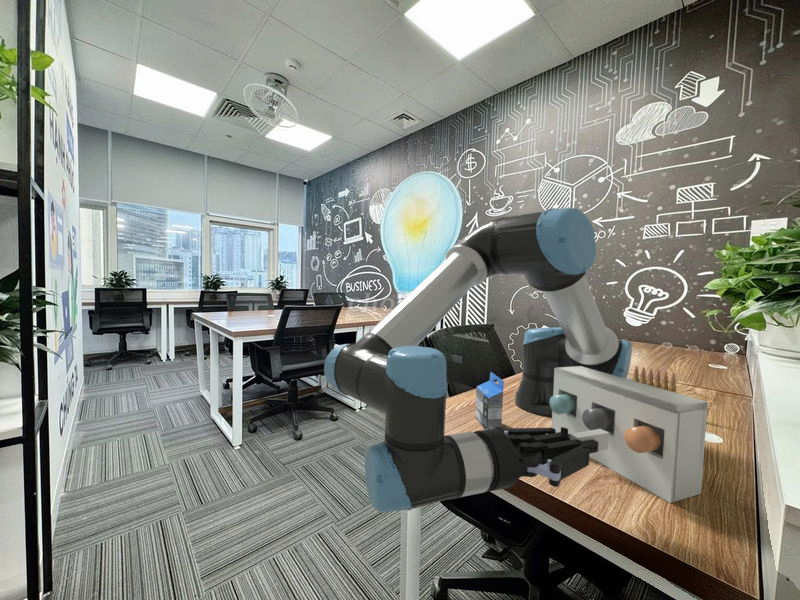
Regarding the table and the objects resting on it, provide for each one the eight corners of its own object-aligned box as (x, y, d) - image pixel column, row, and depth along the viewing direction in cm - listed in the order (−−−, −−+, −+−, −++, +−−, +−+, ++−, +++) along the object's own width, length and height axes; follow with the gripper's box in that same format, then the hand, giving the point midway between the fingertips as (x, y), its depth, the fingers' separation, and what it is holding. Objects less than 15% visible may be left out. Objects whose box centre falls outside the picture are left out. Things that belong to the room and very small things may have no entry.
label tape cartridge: (474, 417, 86) (476, 371, 85) (488, 416, 86) (490, 371, 85) (486, 432, 77) (488, 381, 76) (502, 432, 77) (504, 381, 77)
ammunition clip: (676, 415, 91) (678, 372, 90) (674, 416, 90) (676, 373, 89) (631, 403, 99) (634, 364, 99) (629, 404, 98) (631, 365, 98)
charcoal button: (581, 426, 65) (582, 406, 65) (592, 424, 66) (593, 404, 66) (600, 434, 61) (601, 414, 61) (611, 432, 62) (612, 412, 62)
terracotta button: (623, 446, 57) (624, 423, 57) (635, 443, 58) (636, 421, 58) (647, 457, 53) (648, 433, 53) (659, 455, 54) (661, 431, 54)
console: (551, 435, 76) (554, 367, 75) (576, 430, 79) (580, 365, 78) (670, 503, 53) (676, 406, 52) (701, 493, 55) (707, 401, 55)
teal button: (549, 410, 73) (550, 392, 73) (559, 408, 74) (560, 391, 74) (563, 417, 69) (564, 398, 69) (574, 415, 70) (575, 397, 70)
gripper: (454, 462, 51) (569, 443, 59) (508, 520, 38) (644, 485, 46) (456, 415, 50) (571, 402, 58) (511, 458, 38) (648, 433, 46)
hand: (603, 438), depth 52 cm, fingers closed
